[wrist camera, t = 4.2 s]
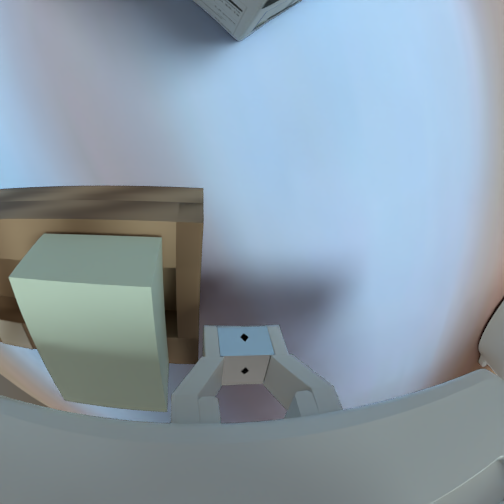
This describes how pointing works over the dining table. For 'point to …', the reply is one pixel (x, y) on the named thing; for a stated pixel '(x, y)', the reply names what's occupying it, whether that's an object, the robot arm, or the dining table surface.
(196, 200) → the beam
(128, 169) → the dining table surface
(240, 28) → the light bulb box
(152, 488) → the robot arm
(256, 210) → the dining table surface
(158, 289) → the block
